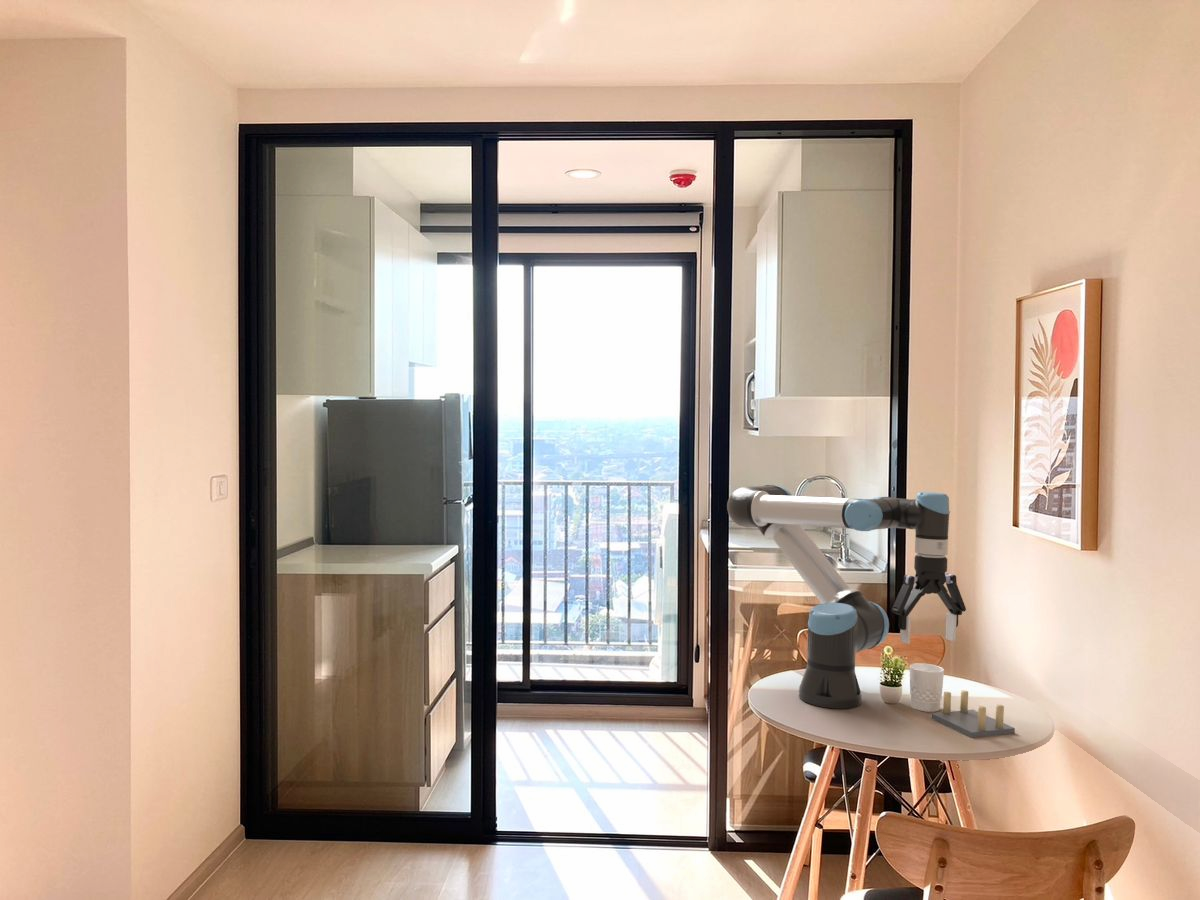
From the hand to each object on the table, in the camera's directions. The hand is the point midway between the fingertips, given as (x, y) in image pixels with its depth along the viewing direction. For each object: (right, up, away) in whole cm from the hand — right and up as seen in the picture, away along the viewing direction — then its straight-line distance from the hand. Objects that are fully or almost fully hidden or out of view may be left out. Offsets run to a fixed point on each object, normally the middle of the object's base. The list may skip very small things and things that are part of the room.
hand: (927, 641), depth 204 cm
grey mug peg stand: (+5, -17, -12) cm, 21 cm away
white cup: (-1, -17, 0) cm, 17 cm away
